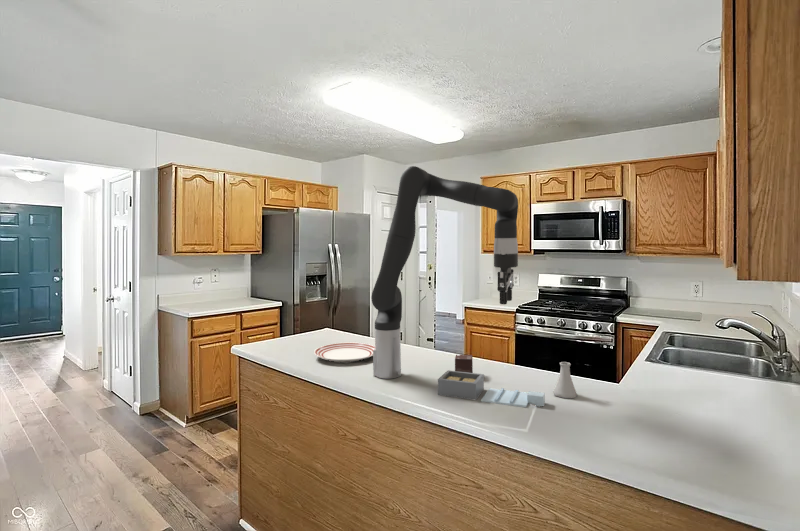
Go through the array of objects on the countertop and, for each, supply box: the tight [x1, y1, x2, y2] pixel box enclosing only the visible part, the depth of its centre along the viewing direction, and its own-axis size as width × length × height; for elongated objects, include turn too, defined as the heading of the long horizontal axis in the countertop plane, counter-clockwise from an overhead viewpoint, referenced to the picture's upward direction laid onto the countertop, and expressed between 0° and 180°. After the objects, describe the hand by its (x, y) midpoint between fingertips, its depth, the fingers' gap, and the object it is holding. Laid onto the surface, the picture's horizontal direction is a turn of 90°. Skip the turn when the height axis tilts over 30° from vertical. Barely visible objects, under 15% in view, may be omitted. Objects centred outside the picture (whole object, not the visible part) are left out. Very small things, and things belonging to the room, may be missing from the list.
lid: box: [480, 387, 546, 408], centre depth 130 cm, size 17×11×3 cm, turn 66°
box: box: [454, 354, 474, 373], centre depth 153 cm, size 6×6×7 cm
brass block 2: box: [462, 378, 476, 382], centre depth 135 cm, size 4×4×4 cm
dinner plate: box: [313, 341, 375, 363], centre depth 184 cm, size 27×27×3 cm
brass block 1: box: [447, 376, 461, 381], centre depth 137 cm, size 4×4×4 cm
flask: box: [552, 361, 578, 399], centre depth 134 cm, size 7×7×10 cm
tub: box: [437, 369, 485, 401], centre depth 136 cm, size 12×10×6 cm
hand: (505, 302), depth 140 cm, fingers open, 8 cm apart
